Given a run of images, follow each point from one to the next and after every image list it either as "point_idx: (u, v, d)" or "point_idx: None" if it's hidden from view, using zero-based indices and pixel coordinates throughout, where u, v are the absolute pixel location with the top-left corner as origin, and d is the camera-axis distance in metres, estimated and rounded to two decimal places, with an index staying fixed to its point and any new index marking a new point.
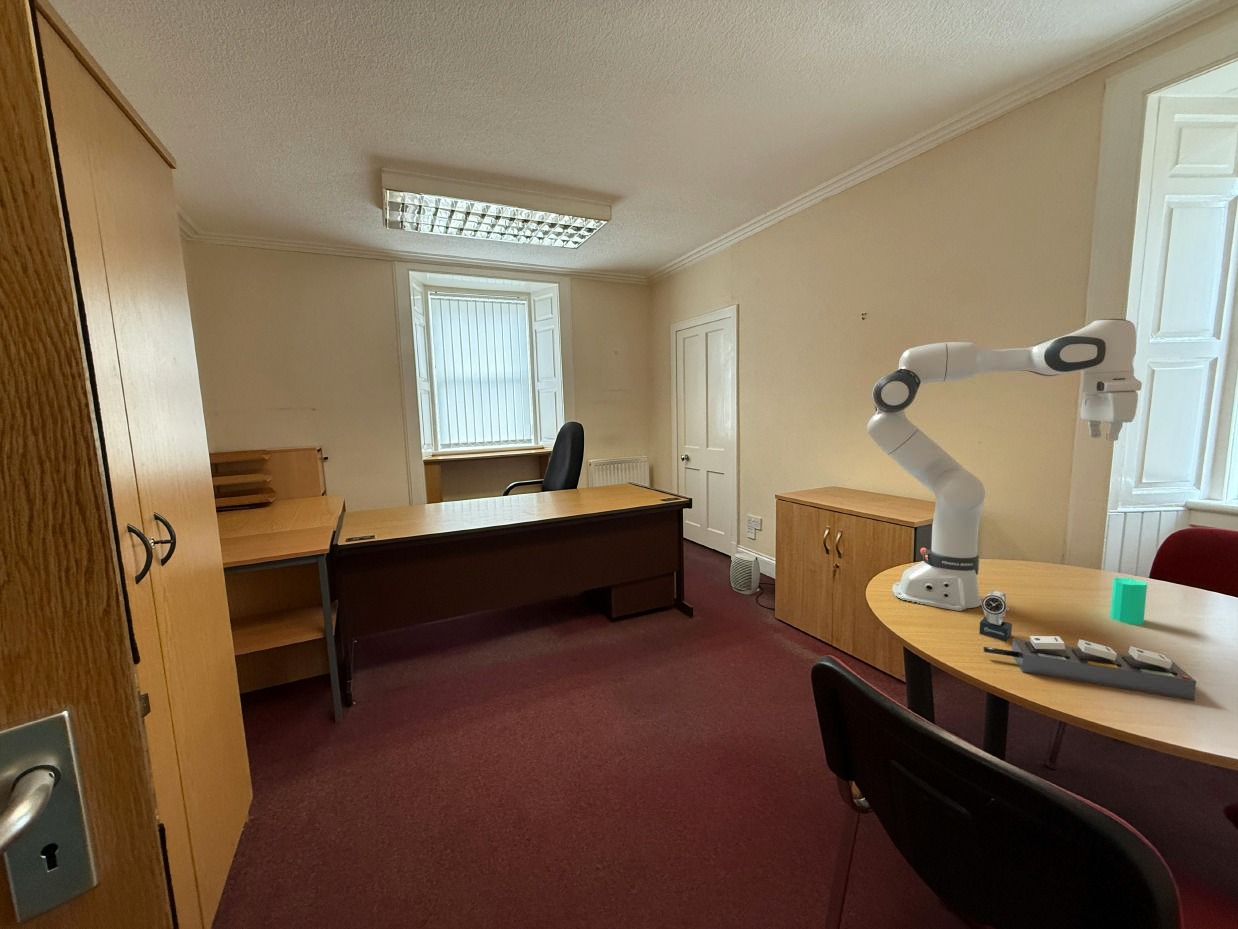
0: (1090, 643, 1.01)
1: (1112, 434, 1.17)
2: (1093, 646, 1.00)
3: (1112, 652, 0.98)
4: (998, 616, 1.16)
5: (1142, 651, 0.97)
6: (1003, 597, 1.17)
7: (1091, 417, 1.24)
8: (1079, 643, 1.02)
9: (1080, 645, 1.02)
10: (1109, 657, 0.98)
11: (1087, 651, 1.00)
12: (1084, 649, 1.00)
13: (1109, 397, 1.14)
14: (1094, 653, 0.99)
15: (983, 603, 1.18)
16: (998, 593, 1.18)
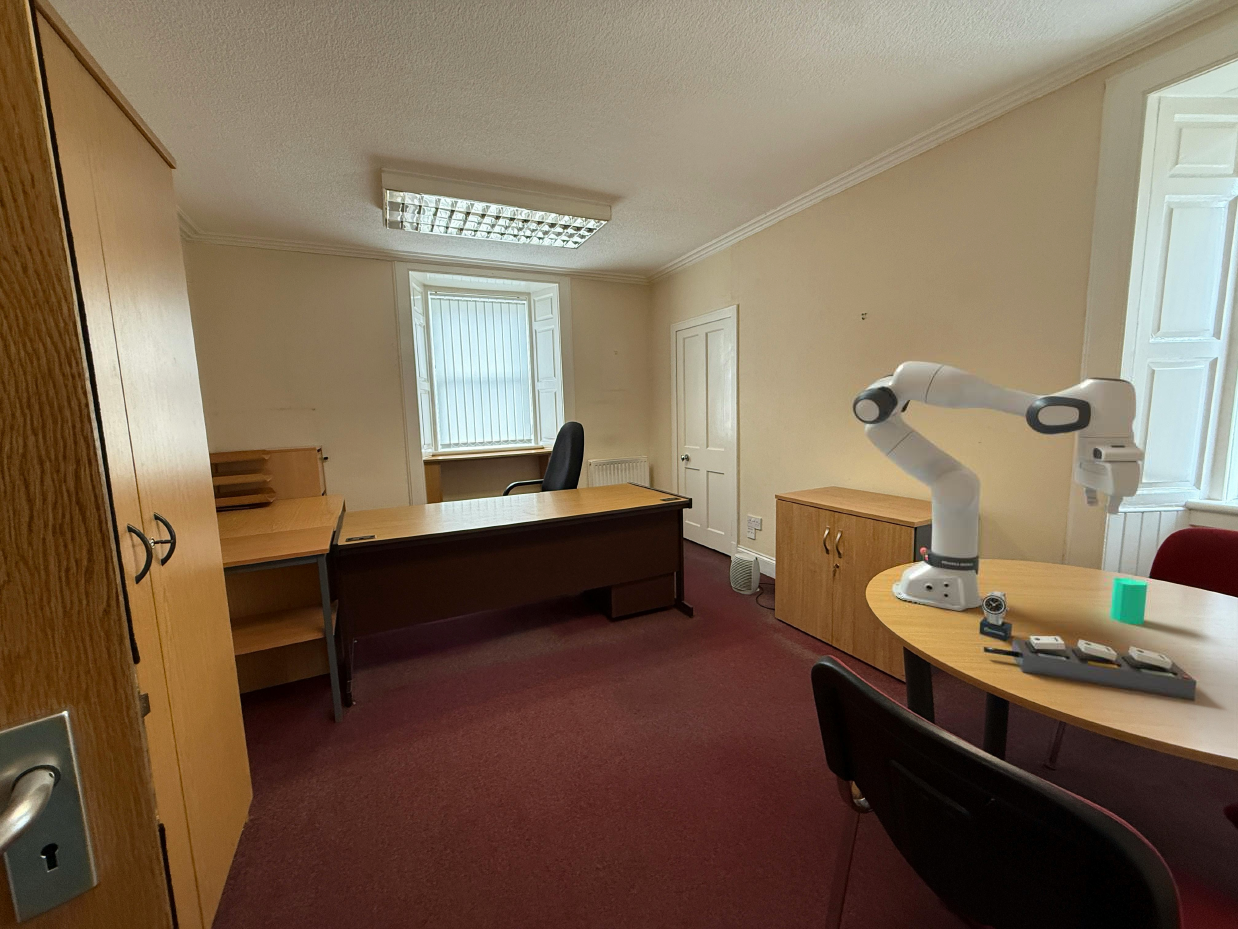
0: (1090, 643, 1.01)
1: (1112, 507, 1.04)
2: (1093, 646, 1.00)
3: (1112, 652, 0.98)
4: (998, 616, 1.16)
5: (1142, 651, 0.97)
6: (1003, 597, 1.17)
7: (1087, 484, 1.11)
8: (1079, 643, 1.02)
9: (1080, 645, 1.02)
10: (1109, 657, 0.98)
11: (1087, 651, 1.00)
12: (1084, 649, 1.00)
13: (1108, 467, 1.01)
14: (1094, 653, 0.99)
15: (983, 603, 1.18)
16: (998, 593, 1.18)
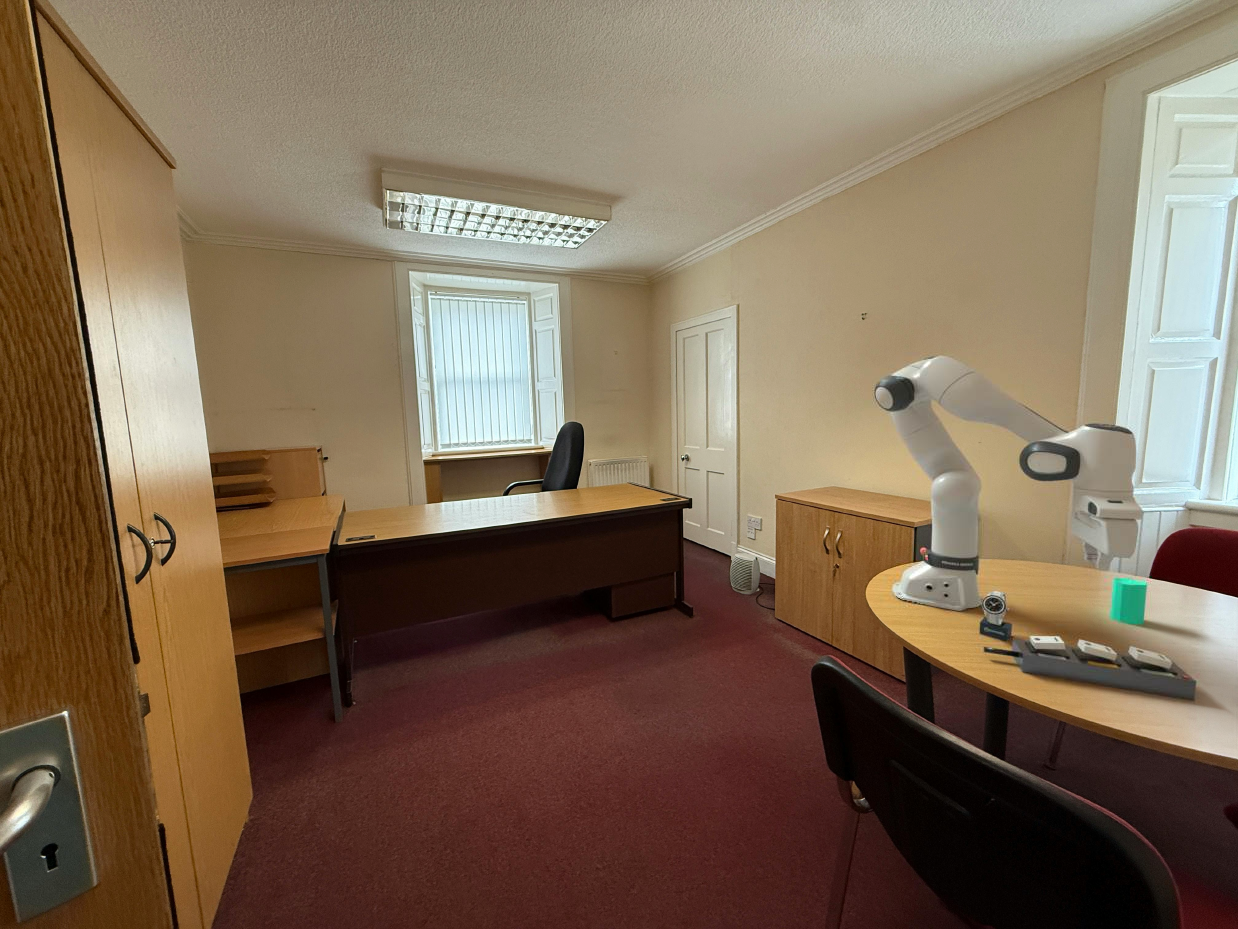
0: (1090, 643, 1.01)
1: (1102, 563, 0.98)
2: (1093, 646, 1.00)
3: (1112, 652, 0.98)
4: (998, 616, 1.16)
5: (1142, 651, 0.97)
6: (1003, 597, 1.17)
7: (1082, 537, 1.03)
8: (1079, 643, 1.02)
9: (1080, 645, 1.02)
10: (1109, 657, 0.98)
11: (1087, 651, 1.00)
12: (1084, 649, 1.00)
13: (1103, 525, 0.93)
14: (1094, 653, 0.99)
15: (983, 603, 1.18)
16: (998, 593, 1.18)
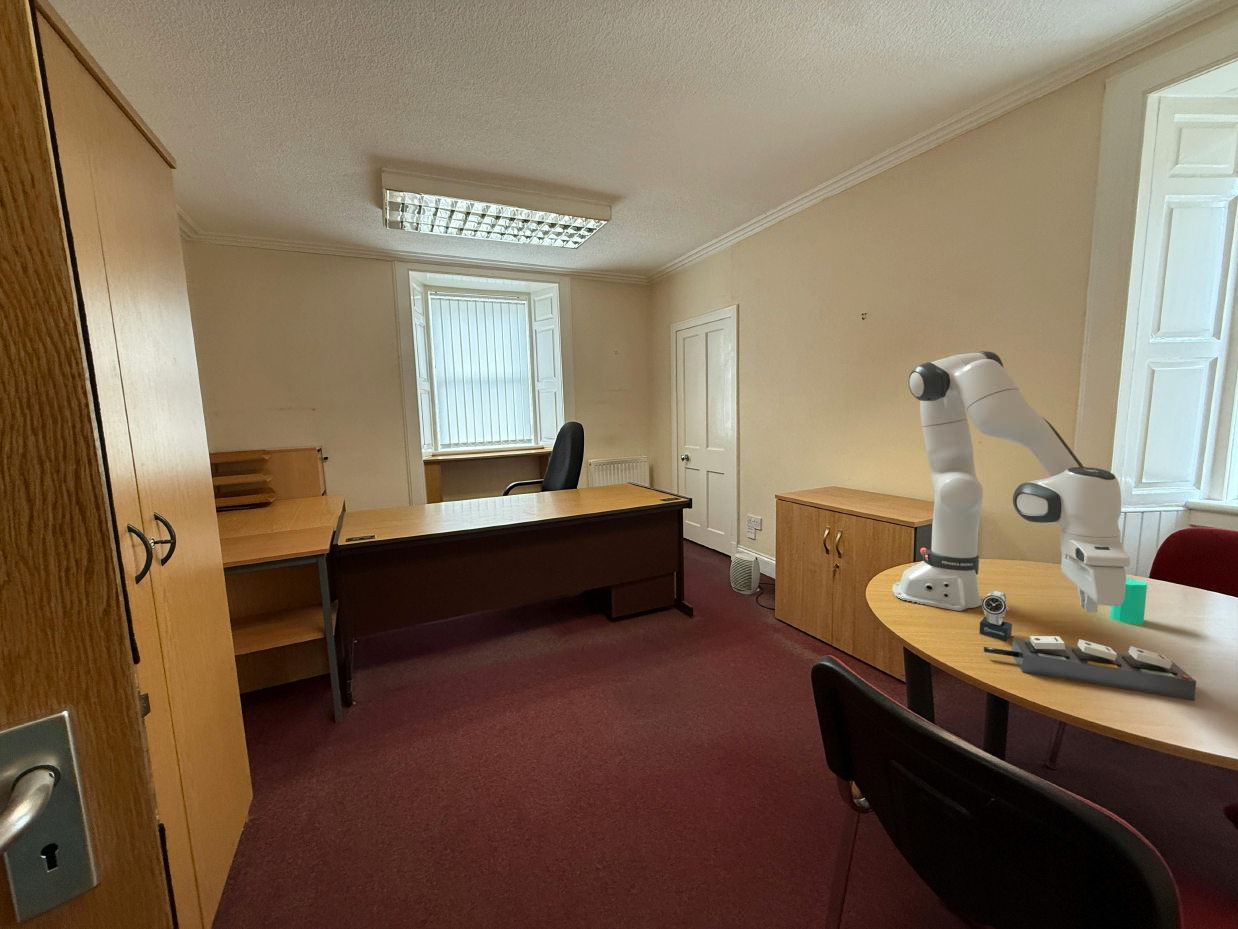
0: (1090, 643, 1.01)
1: (1090, 605, 0.99)
2: (1093, 646, 1.00)
3: (1112, 652, 0.98)
4: (998, 616, 1.16)
5: (1142, 651, 0.97)
6: (1003, 597, 1.17)
7: (1073, 580, 1.02)
8: (1079, 643, 1.02)
9: (1080, 645, 1.02)
10: (1109, 657, 0.98)
11: (1087, 651, 1.00)
12: (1084, 649, 1.00)
13: (1091, 573, 0.93)
14: (1094, 653, 0.99)
15: (983, 603, 1.18)
16: (998, 593, 1.18)
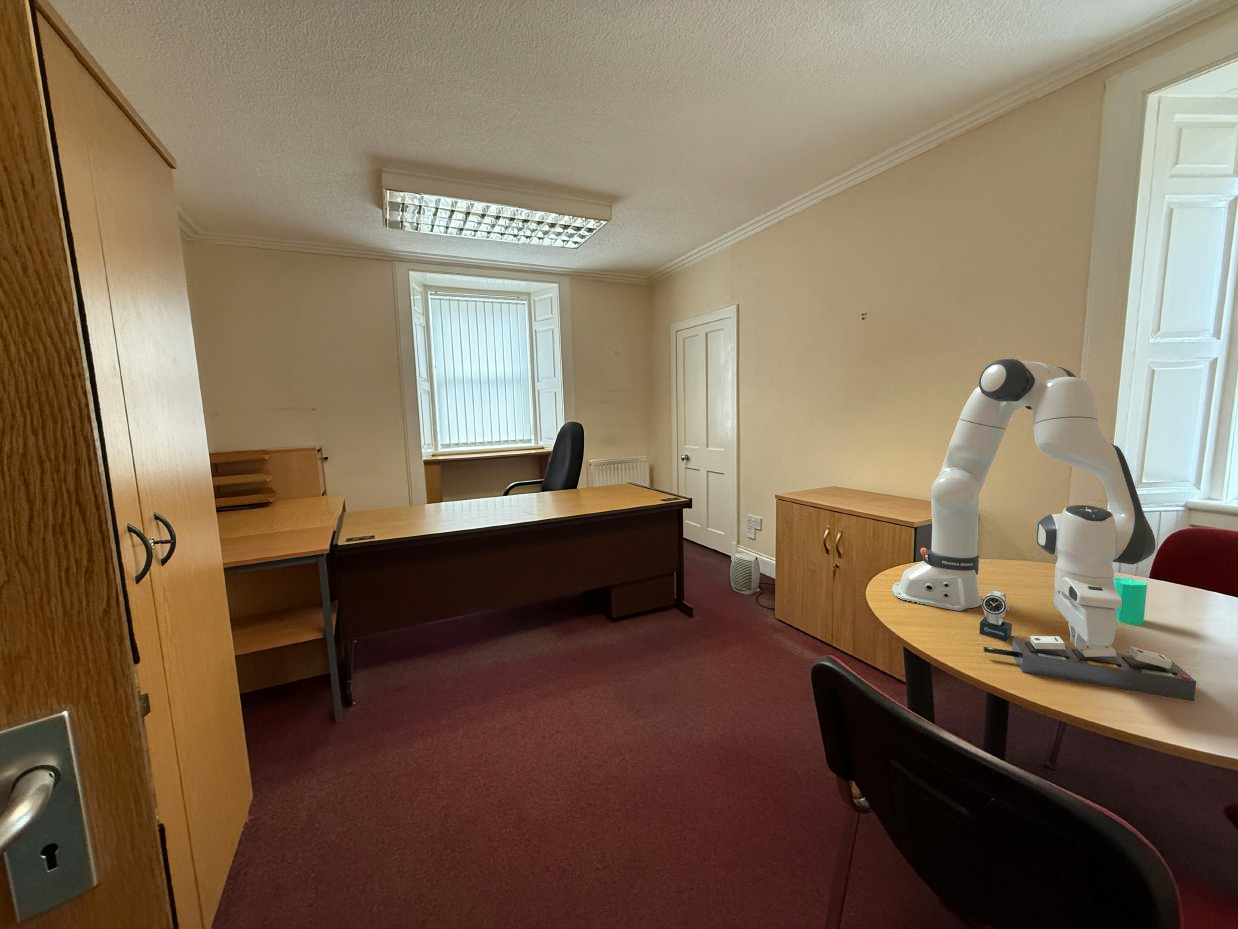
0: (1088, 644, 1.01)
1: (1080, 642, 1.00)
2: (1091, 647, 1.00)
3: (1110, 648, 0.98)
4: (998, 616, 1.16)
5: (1142, 651, 0.97)
6: (1003, 597, 1.17)
7: (1064, 615, 1.04)
8: None
9: (1080, 650, 1.02)
10: (1109, 654, 0.98)
11: (1087, 655, 1.00)
12: (1084, 653, 1.00)
13: (1083, 612, 0.94)
14: (1094, 655, 0.99)
15: (983, 603, 1.18)
16: (998, 593, 1.18)
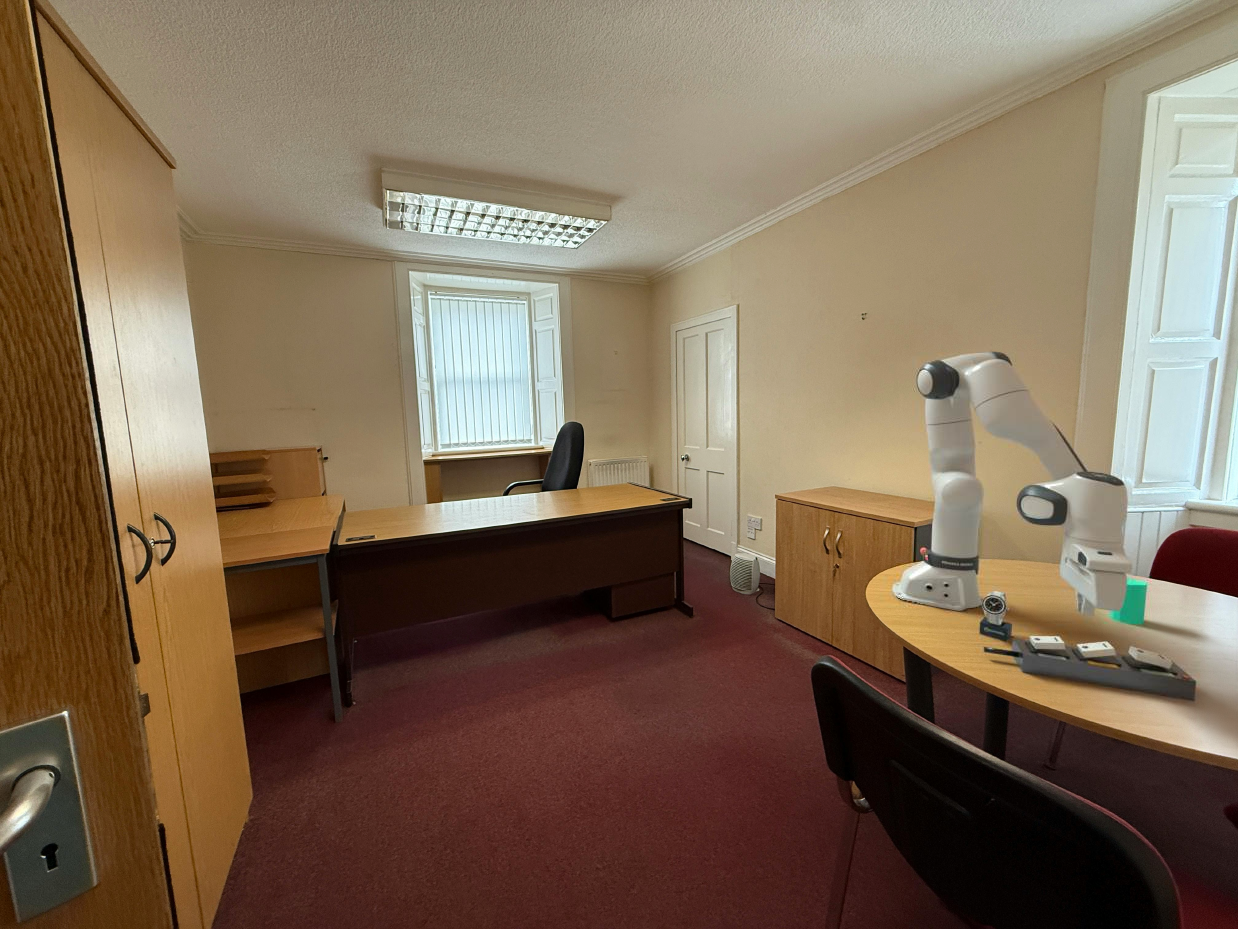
0: (1087, 645, 1.01)
1: (1087, 609, 0.99)
2: (1090, 648, 1.00)
3: (1109, 647, 0.98)
4: (998, 616, 1.16)
5: (1142, 651, 0.97)
6: (1003, 597, 1.17)
7: (1071, 583, 1.03)
8: (1079, 648, 1.02)
9: (1080, 651, 1.02)
10: (1109, 653, 0.98)
11: (1088, 655, 1.00)
12: (1084, 654, 1.00)
13: (1092, 577, 0.93)
14: (1095, 655, 0.99)
15: (983, 603, 1.18)
16: (998, 593, 1.18)
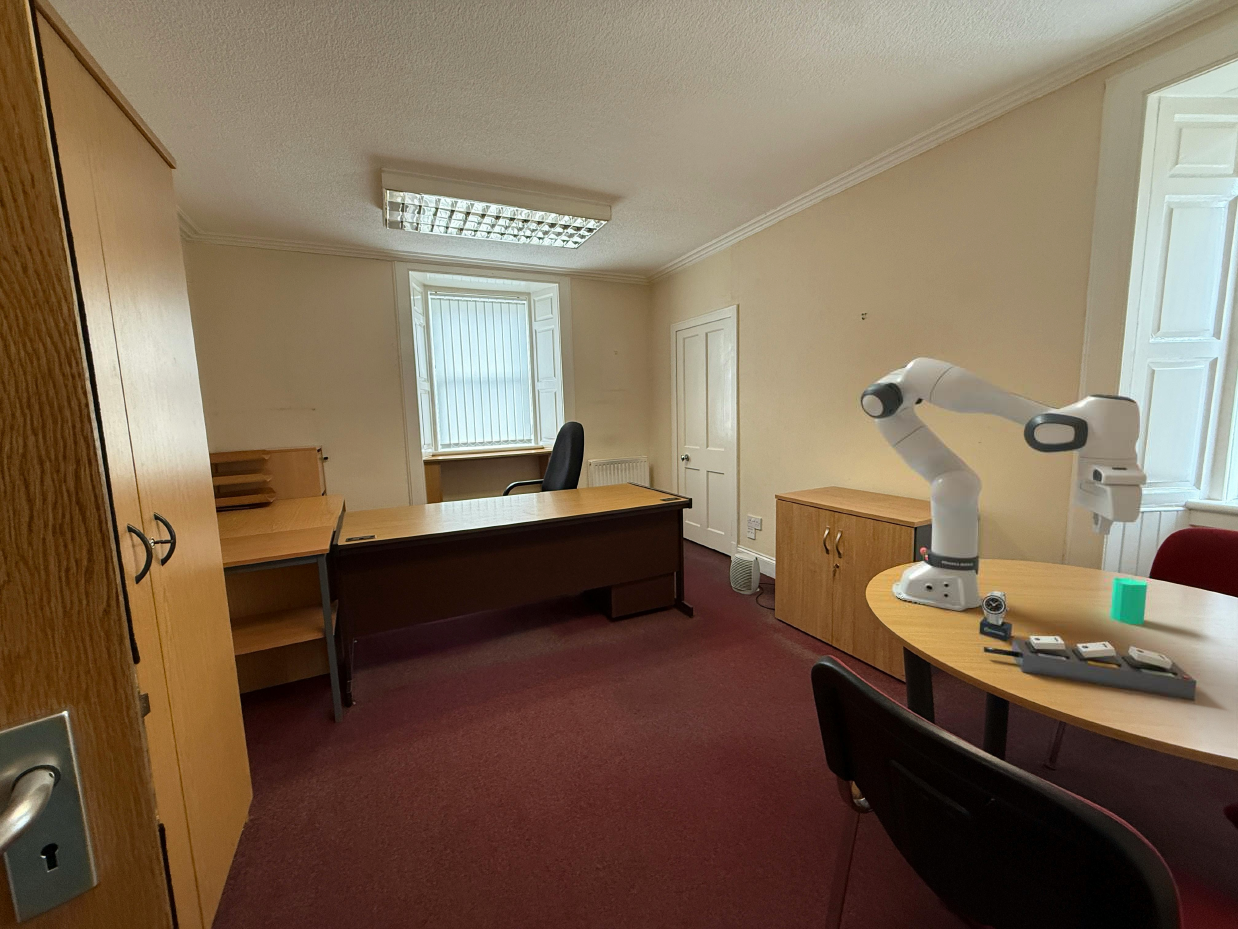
0: (1087, 645, 1.01)
1: (1103, 527, 1.02)
2: (1090, 648, 1.00)
3: (1109, 647, 0.98)
4: (998, 616, 1.16)
5: (1142, 651, 0.97)
6: (1003, 597, 1.17)
7: (1087, 506, 1.06)
8: (1078, 648, 1.02)
9: (1080, 650, 1.02)
10: (1109, 654, 0.98)
11: (1088, 655, 1.00)
12: (1084, 654, 1.00)
13: (1108, 491, 0.96)
14: (1095, 655, 0.99)
15: (983, 603, 1.18)
16: (998, 593, 1.18)
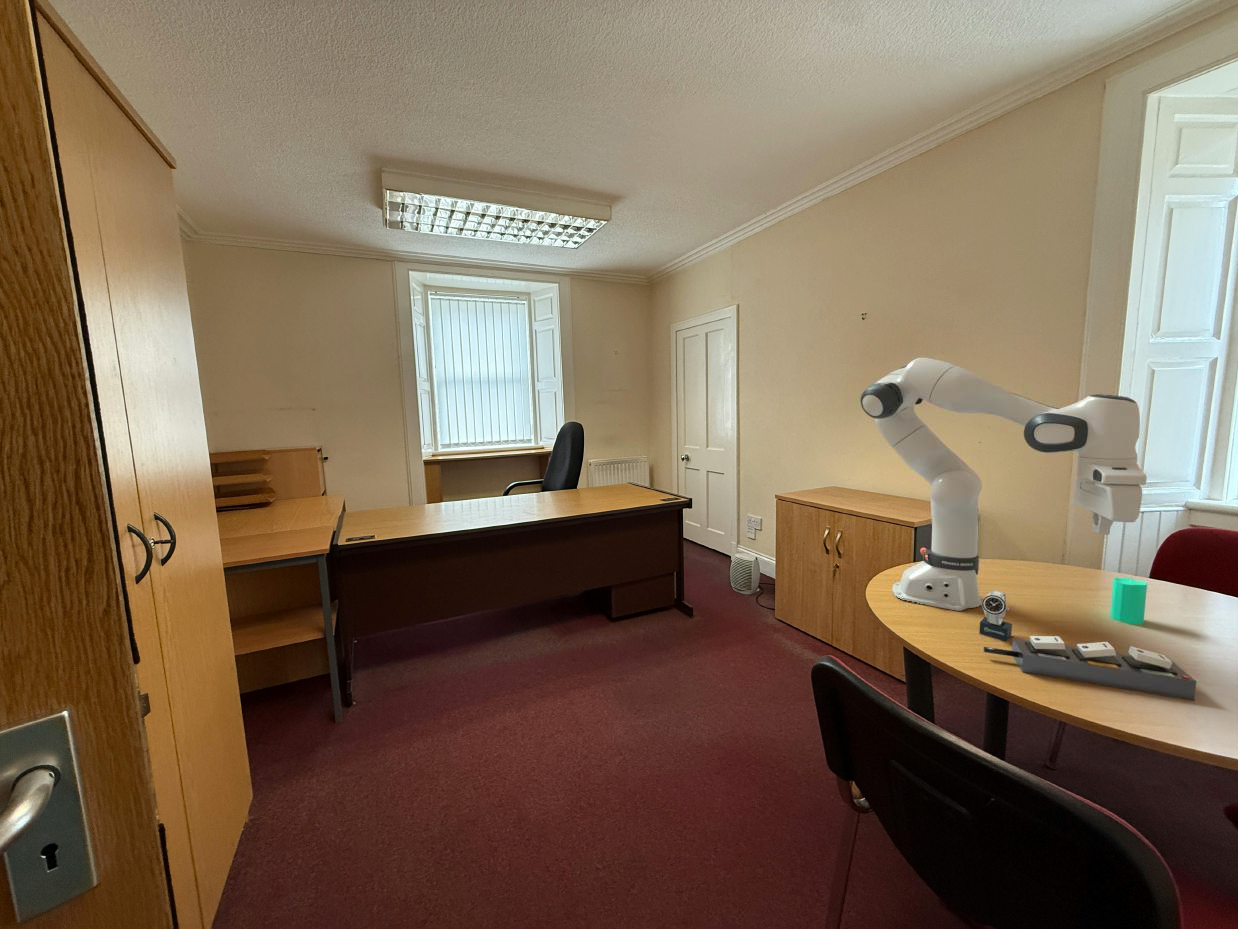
0: (1087, 645, 1.01)
1: (1103, 527, 1.02)
2: (1090, 648, 1.00)
3: (1109, 647, 0.98)
4: (998, 616, 1.16)
5: (1142, 651, 0.97)
6: (1003, 597, 1.17)
7: (1087, 506, 1.06)
8: (1078, 648, 1.02)
9: (1080, 650, 1.02)
10: (1109, 654, 0.98)
11: (1087, 655, 1.00)
12: (1084, 654, 1.00)
13: (1108, 491, 0.96)
14: (1095, 655, 0.99)
15: (983, 603, 1.18)
16: (998, 593, 1.18)
